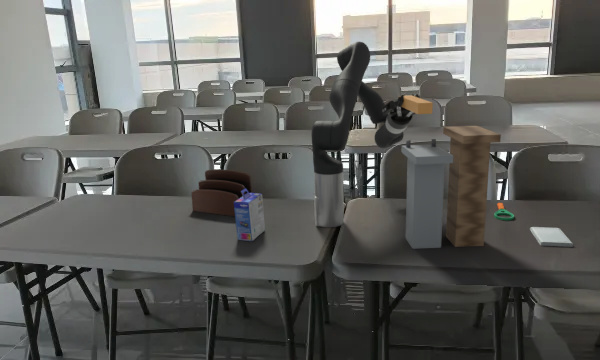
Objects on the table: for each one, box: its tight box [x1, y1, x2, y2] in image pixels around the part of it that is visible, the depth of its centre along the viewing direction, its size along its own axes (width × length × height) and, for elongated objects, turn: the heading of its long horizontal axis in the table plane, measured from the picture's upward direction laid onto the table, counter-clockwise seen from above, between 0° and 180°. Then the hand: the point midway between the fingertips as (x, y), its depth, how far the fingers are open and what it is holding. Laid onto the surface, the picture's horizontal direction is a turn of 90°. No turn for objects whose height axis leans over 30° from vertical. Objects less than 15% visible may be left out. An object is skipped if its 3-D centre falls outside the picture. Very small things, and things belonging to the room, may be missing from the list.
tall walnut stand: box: [442, 125, 502, 248], centre depth 136 cm, size 10×16×32 cm, turn 2°
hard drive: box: [529, 226, 574, 248], centre depth 140 cm, size 2×8×12 cm
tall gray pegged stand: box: [401, 138, 453, 250], centre depth 136 cm, size 10×16×29 cm, turn 2°
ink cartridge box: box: [234, 188, 266, 242], centre depth 148 cm, size 10×6×14 cm, turn 161°
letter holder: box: [191, 169, 253, 217], centre depth 174 cm, size 10×20×14 cm, turn 65°
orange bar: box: [398, 95, 433, 115], centre depth 143 cm, size 4×22×3 cm, turn 2°
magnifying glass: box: [493, 202, 515, 221], centre depth 162 cm, size 15×6×2 cm, turn 164°
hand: (410, 97), depth 147 cm, fingers closed on orange bar, 4 cm apart
